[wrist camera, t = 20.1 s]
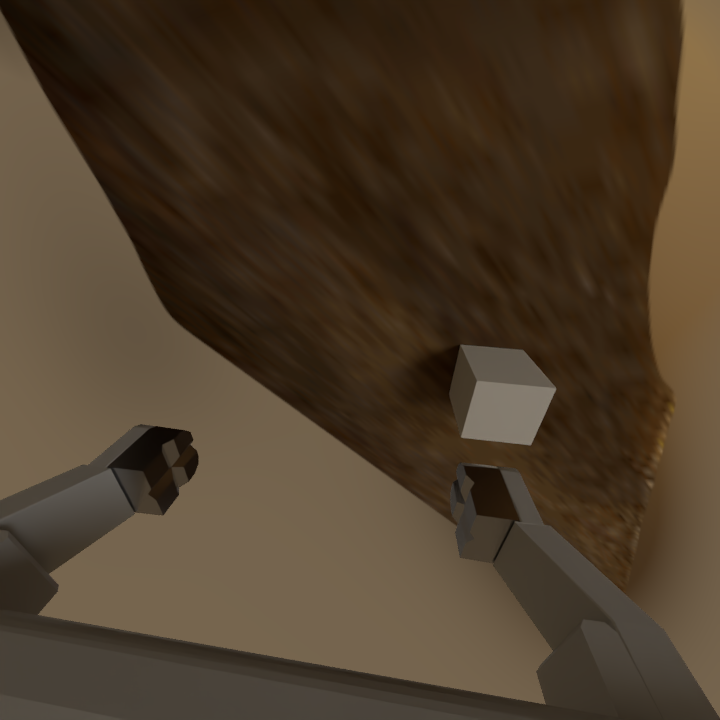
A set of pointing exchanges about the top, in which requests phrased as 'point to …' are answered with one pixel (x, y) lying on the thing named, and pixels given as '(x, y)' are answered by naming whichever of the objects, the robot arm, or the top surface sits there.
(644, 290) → the top surface
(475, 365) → the grey matte cube
